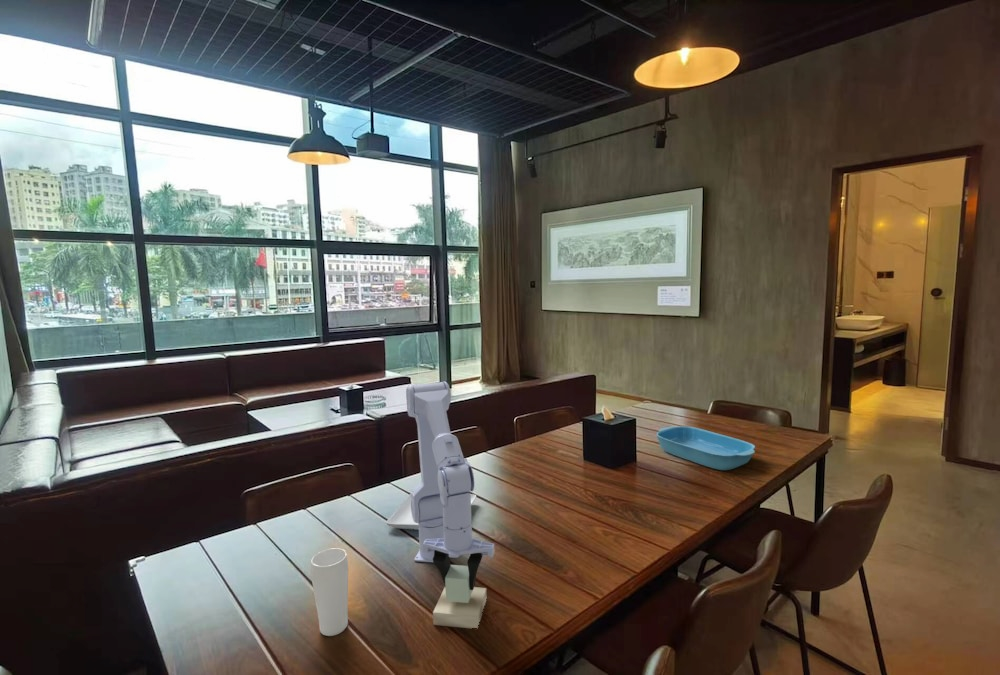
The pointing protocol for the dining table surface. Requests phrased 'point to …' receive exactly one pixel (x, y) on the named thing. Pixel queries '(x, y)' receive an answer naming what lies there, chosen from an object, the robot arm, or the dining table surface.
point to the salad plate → (407, 515)
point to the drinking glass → (331, 589)
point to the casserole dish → (705, 447)
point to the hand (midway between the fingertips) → (460, 585)
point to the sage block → (458, 584)
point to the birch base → (460, 610)
